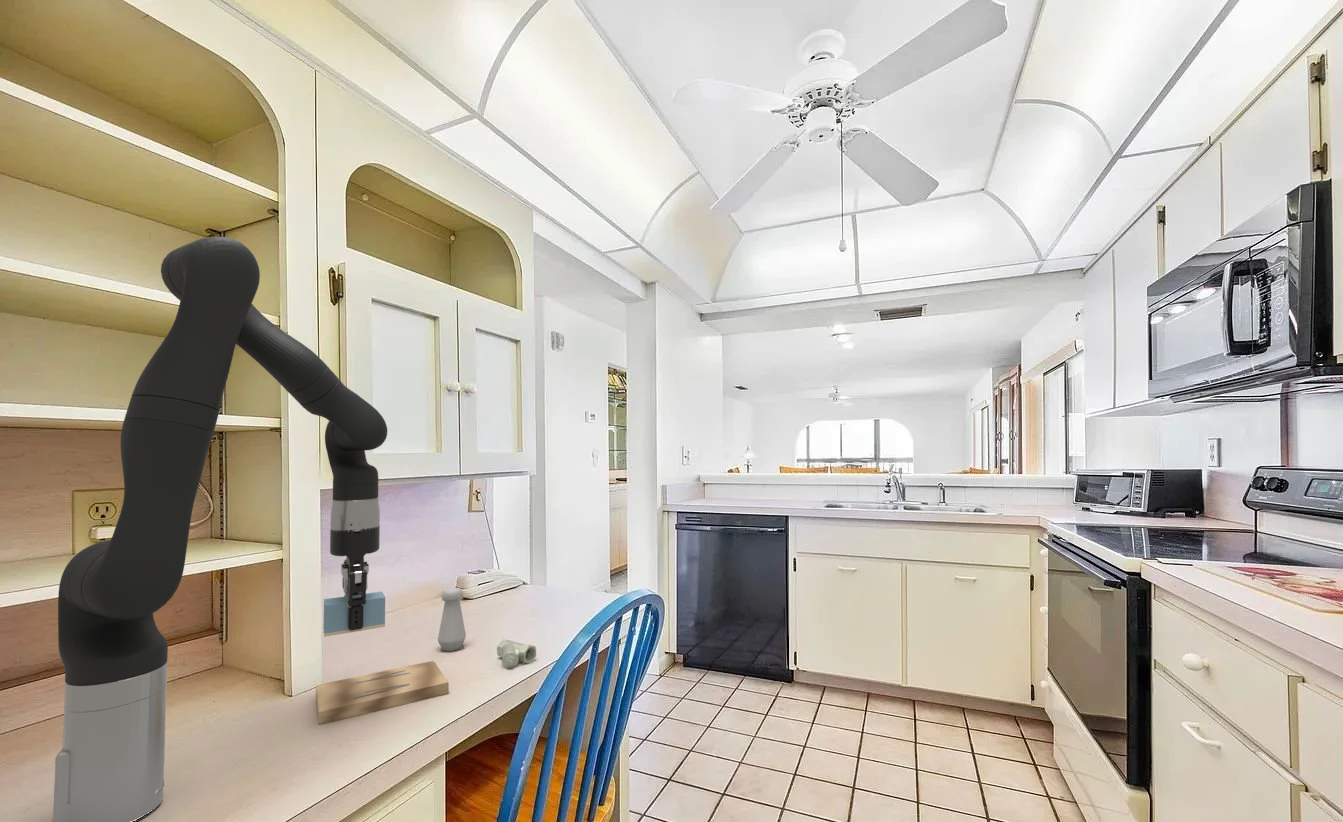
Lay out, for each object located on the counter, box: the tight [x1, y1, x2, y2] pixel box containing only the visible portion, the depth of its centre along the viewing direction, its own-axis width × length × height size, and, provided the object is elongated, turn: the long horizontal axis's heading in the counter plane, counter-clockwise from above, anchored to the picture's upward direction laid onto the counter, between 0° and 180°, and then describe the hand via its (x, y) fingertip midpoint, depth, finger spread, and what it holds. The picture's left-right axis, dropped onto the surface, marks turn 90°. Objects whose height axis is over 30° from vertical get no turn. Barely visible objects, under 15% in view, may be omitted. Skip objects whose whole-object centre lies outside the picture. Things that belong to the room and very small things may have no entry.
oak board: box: [315, 660, 449, 725], centre depth 104 cm, size 20×13×2 cm, turn 123°
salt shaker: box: [437, 587, 467, 652], centre depth 129 cm, size 6×6×13 cm
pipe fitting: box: [496, 638, 537, 669], centre depth 119 cm, size 8×4×7 cm
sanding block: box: [323, 591, 386, 638], centre depth 100 cm, size 9×5×5 cm, turn 122°
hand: (354, 624), depth 99 cm, fingers closed on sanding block, 5 cm apart
